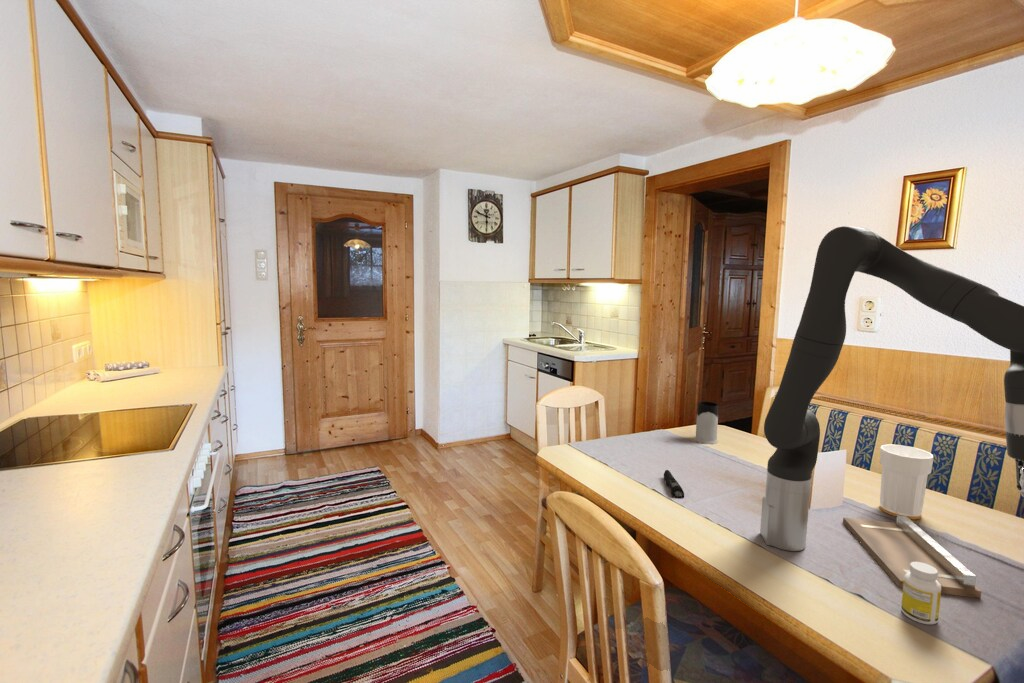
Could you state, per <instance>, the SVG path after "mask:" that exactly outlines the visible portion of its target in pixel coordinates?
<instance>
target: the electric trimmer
mask: <svg viewBox="0 0 1024 683" xmlns="http://www.w3.org/2000/svg"><path fill="white" fill-rule="evenodd" d="M663 478H664V482H665V483H664V484H665V485H666V486H668V487H669V489H670V494H671V498H674V497H675V498H674V499H684V498H685V492H684V489H683V488H682V486H681V485H680V484H679V482H678V481H677V480H676V478H675V477H674V475H673V474H672V473H671V471H670V470H669V469H665V470H664V472H663Z"/></svg>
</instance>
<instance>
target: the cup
mask: <svg viewBox="0 0 1024 683" xmlns="http://www.w3.org/2000/svg"><path fill="white" fill-rule="evenodd" d="M879 455H880V457H879V464H880V465H881V478H880V480H881V481H880V495H879V496H880V497H879V506H878V507H879V510H880V511H882V512H884V513H885V514H887V513H888V515H889V516H890V515H891V516H892V515H893V516H892V517H895V516H897V515H899V516H906V517H908V518H909V519H910V520H911V519H912V520H918V519H921V518H922V515H923V514H922V513H923V509H924V507H923V506H924V504H925V502H924V501H925V496H926V489H927V483H928V476H929V474H932V468H933V462H934V454H932V453H931V452H929V451H927V450H924V449H921V448H918V447H913V446H908V445H903V444H902V445H901V444H883V445H880V454H879Z"/></svg>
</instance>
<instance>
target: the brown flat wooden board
mask: <svg viewBox="0 0 1024 683" xmlns="http://www.w3.org/2000/svg"><path fill="white" fill-rule="evenodd" d="M842 523H843V525H844V526H845V527H846V528H847V529H848V530H849V532H850V533H851V532H852V533H853V534H852V533H851V534H852V535H853V536H854V537H855V538H856V540H857V541H858V540H859V541H860V542H861V543H860V542H859V541H858V542H859V543H860V545H862V546H863V547H864V549H865V550H866V551H867V552H868V553H869V555H871V556H873V559H874V560H875V562H877V564H878V565H879V566H880V567H881V568H882V570H884V571H885V573H886V572H887V573H886V574H887V575H888V576H889V577H890V579H891V580H892V581H893V582H894V583H895V584H896V586H898V587H899V588H901V589H903V583H904V576H905V574H906V573H908V572H910V563H911V562H921V563H925V564H928V565H930V566H932V567H934V568H935V569H936V570H937V571H938V577H937V581H938V582H939V583H940V585H941V594H947V595H954V596H960V597H969V598H977V599H981V597H982V590H981V589H980V588H979V587H977V586H976V585H975V588H972V587H964V586H962V585H961V584H960V583H959V582H958V581H957V580H956V579H955V578H954V577H953V576H952V575H950V574H949V573H948V572H947V571H946V570H945V569H944V568H943V567H942V566H941V565H939V564H938V563H937V562H936V561H935V560H934V559H933V558H932V557H931V556H930V555H929V554H928V553H926V552H925V551H924V550H923V549H922V548H921V547H920V546H919V545H918V544H917V543H916V542H914V541H913V540H912V539H911V538H910V537H909V536H908V535H907V534H906V533H905V532H904V531H903V530H902V529H900V528H899V527H898V526H897V525H896V522H889V521H881V520H871V519H863V518H854V517H843V518H842Z"/></svg>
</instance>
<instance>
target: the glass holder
mask: <svg viewBox="0 0 1024 683" xmlns="http://www.w3.org/2000/svg"><path fill="white" fill-rule="evenodd" d="M696 413H697V414H696V425H695V427H696V428H695V436H694V441H695V442H698V443H700V444H705V445H715V444H718V442H719V440H718V425H719V424H718V423H719V422H718V420H719V415H718V414H719V404H718V403H716V402H712V401H699V402H697V412H696Z"/></svg>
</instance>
